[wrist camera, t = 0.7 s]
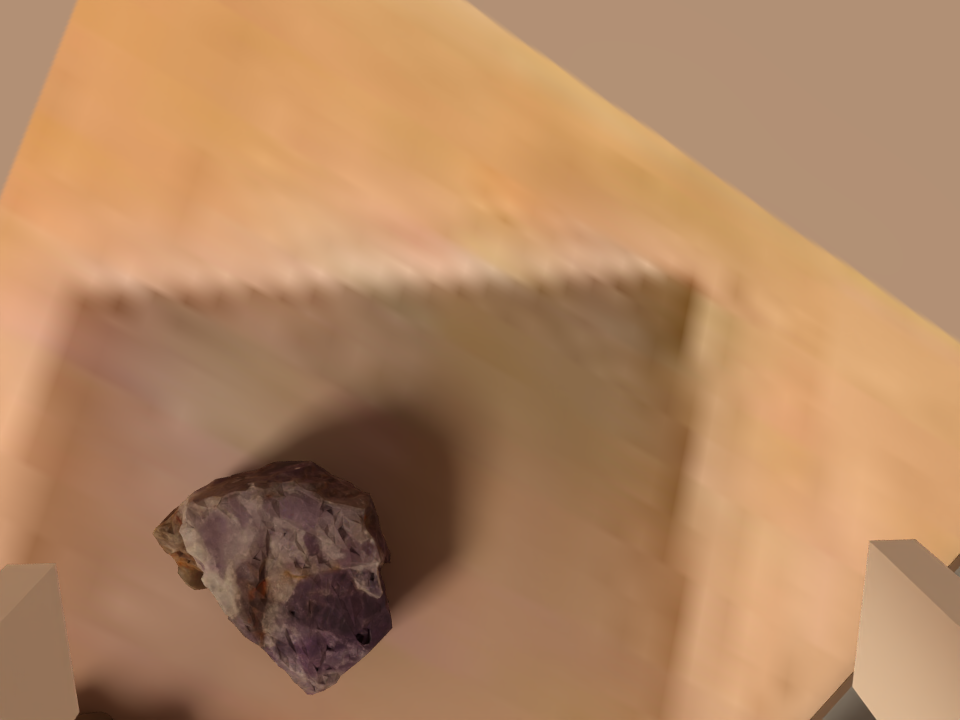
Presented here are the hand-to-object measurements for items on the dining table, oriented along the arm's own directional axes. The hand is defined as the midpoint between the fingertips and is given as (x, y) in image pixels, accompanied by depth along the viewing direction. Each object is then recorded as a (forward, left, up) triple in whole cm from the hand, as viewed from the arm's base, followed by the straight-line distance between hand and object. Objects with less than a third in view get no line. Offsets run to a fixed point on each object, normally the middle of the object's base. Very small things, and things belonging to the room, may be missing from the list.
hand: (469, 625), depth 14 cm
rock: (+7, +6, -32) cm, 33 cm away
